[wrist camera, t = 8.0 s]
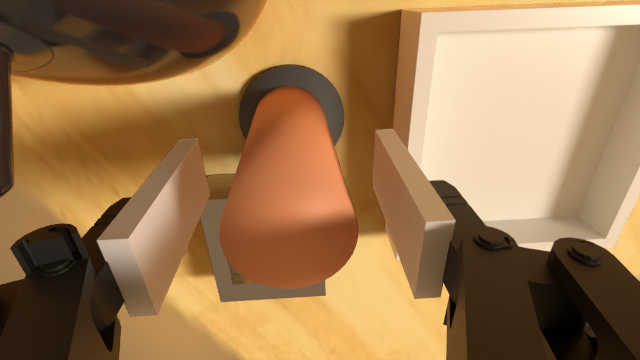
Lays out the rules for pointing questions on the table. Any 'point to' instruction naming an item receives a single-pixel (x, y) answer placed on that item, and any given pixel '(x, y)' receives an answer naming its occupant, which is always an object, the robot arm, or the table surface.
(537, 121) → the dock cradle
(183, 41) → the dark piece
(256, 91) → the pin pad
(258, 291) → the pin mount
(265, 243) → the pin
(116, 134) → the table surface
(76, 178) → the table surface
